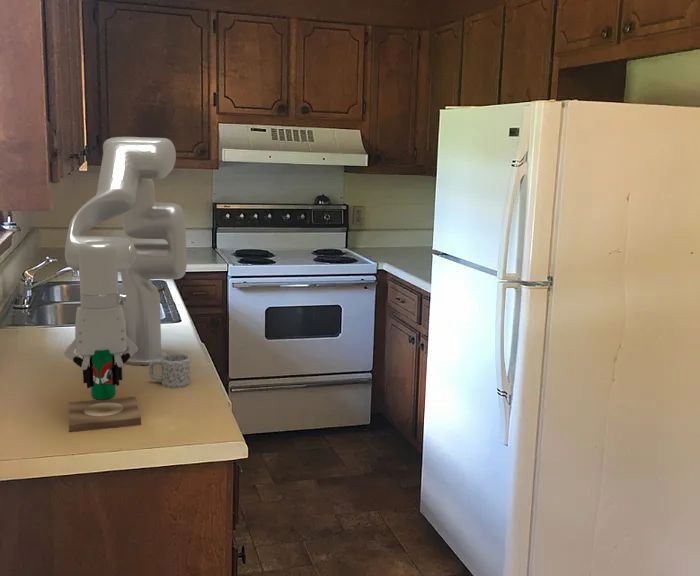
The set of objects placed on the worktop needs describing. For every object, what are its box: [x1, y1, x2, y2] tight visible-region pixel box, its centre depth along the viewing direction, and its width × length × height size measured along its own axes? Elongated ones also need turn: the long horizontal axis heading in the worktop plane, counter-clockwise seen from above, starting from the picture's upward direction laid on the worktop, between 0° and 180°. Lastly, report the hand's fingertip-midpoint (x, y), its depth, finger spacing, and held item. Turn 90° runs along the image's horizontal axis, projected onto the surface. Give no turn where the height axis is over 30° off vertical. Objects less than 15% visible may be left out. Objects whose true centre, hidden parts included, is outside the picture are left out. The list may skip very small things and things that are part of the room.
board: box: [68, 396, 142, 433], centre depth 158 cm, size 14×14×2 cm
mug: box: [148, 353, 191, 389], centre depth 181 cm, size 10×7×7 cm, turn 86°
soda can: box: [88, 348, 117, 400], centre depth 157 cm, size 5×5×12 cm
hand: (102, 384), depth 157 cm, fingers closed on soda can, 5 cm apart
